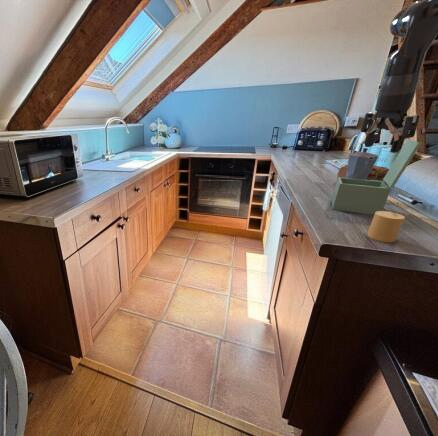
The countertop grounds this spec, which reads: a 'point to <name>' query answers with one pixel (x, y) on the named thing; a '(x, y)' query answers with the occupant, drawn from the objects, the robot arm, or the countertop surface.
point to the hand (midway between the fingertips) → (380, 149)
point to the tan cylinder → (385, 226)
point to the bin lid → (401, 162)
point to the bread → (375, 174)
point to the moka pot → (360, 164)
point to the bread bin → (360, 195)
